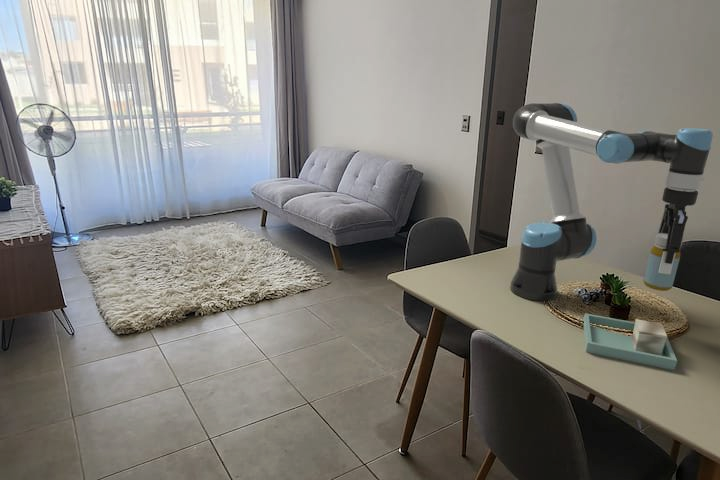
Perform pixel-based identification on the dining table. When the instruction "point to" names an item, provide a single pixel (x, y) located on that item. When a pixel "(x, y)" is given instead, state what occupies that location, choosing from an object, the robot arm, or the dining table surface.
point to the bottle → (652, 275)
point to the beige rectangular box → (648, 337)
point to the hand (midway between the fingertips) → (661, 268)
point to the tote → (622, 343)
